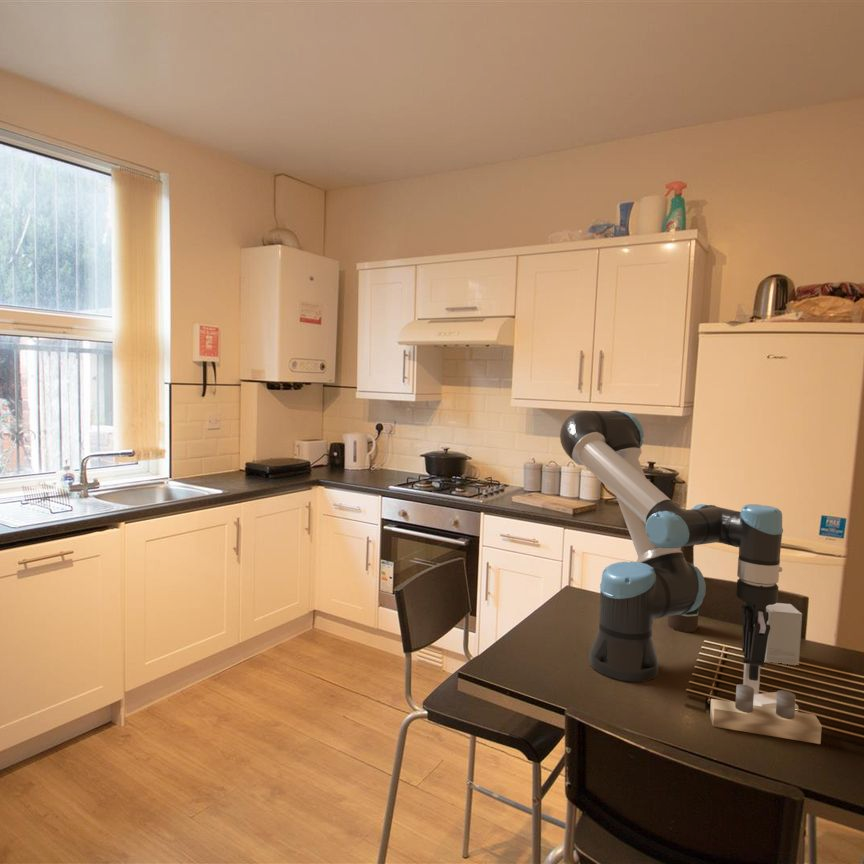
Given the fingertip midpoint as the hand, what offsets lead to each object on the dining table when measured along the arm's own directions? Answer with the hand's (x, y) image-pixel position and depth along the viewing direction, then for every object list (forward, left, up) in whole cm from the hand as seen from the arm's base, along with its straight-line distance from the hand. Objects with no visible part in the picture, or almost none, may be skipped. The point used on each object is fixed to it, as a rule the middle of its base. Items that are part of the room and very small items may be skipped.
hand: (750, 692), depth 127 cm
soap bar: (+3, -3, -2) cm, 5 cm away
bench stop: (0, -12, -2) cm, 12 cm away
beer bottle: (-9, +38, -2) cm, 39 cm away
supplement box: (+11, +25, -2) cm, 28 cm away
